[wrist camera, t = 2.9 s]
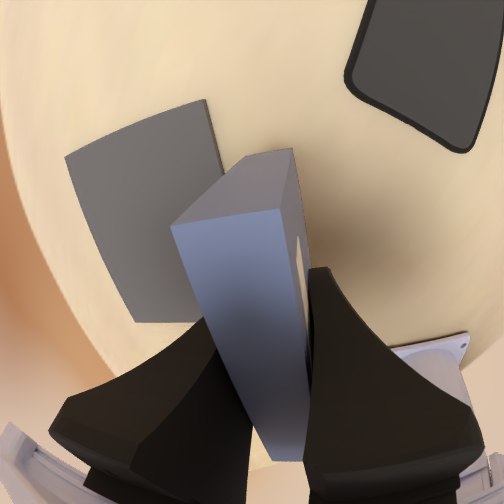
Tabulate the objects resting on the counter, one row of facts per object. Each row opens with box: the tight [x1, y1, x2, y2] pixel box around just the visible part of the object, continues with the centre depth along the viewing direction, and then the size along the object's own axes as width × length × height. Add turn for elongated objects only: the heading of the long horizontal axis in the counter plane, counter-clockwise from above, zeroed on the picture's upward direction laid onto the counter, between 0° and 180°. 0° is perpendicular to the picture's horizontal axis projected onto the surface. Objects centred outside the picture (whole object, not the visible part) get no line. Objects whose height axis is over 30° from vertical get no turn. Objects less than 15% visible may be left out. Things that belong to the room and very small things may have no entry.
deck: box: [170, 148, 314, 461], centre depth 8 cm, size 9×2×6 cm, turn 12°
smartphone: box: [344, 0, 504, 154], centre depth 6 cm, size 7×1×15 cm
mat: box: [64, 99, 224, 323], centre depth 15 cm, size 12×9×1 cm
